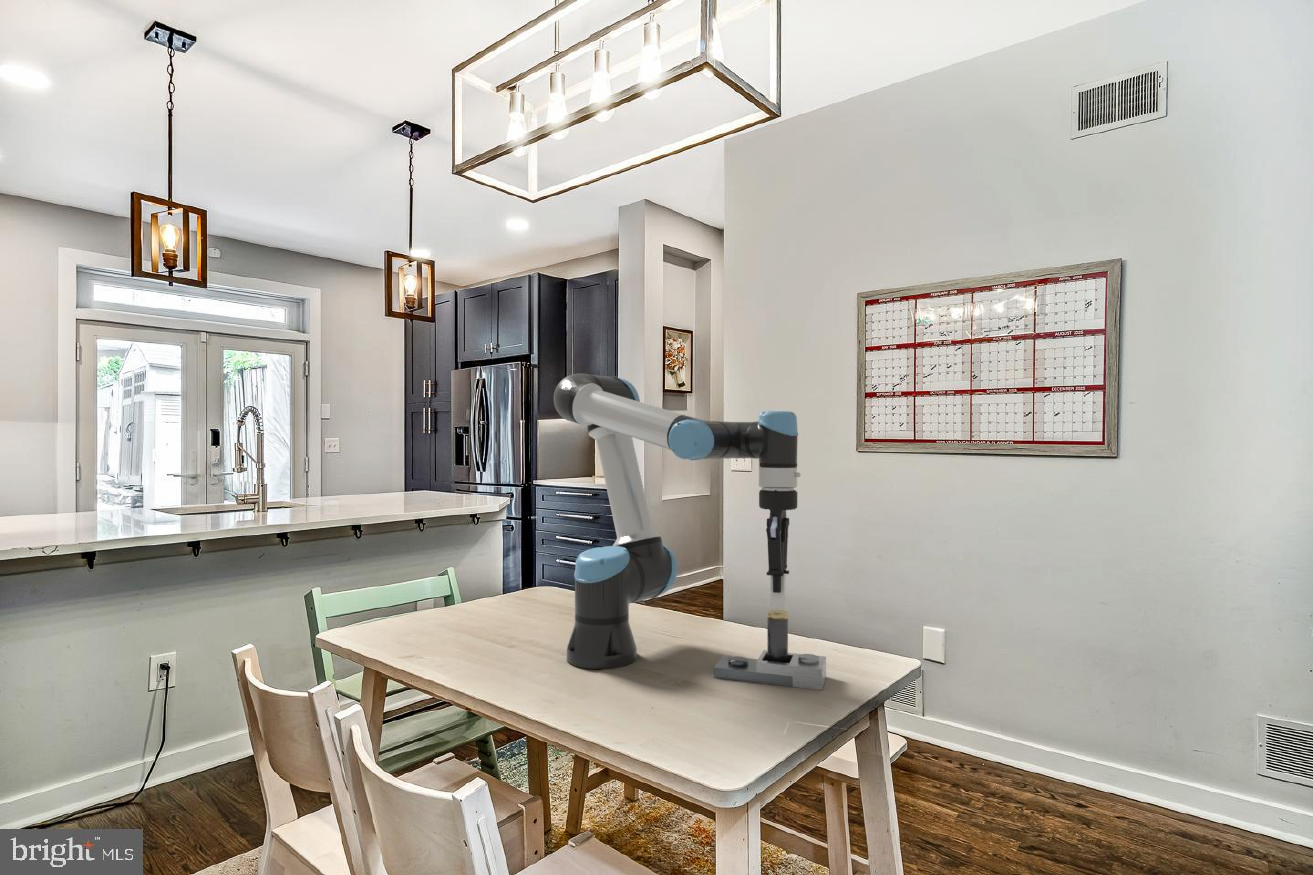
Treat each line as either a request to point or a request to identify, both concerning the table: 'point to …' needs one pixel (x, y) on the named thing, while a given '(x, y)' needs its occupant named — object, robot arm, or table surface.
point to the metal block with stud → (775, 670)
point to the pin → (777, 636)
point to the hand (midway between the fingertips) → (777, 607)
